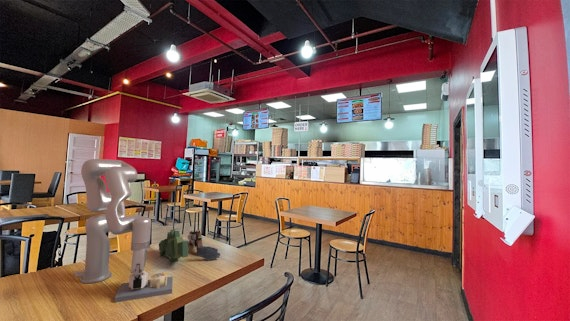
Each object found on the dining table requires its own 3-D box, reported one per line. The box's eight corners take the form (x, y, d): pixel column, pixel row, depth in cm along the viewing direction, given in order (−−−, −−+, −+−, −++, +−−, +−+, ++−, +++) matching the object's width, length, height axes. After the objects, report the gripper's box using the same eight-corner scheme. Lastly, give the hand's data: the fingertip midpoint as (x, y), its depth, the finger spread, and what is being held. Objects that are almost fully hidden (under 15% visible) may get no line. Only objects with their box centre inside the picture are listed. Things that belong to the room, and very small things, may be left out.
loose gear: (127, 290, 106) (128, 278, 107) (130, 283, 113) (131, 272, 113) (146, 287, 109) (147, 276, 110) (148, 280, 116) (149, 270, 116)
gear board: (114, 302, 102) (115, 284, 102) (120, 287, 114) (121, 271, 114) (172, 293, 111) (172, 276, 111) (172, 280, 123) (173, 265, 123)
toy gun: (194, 251, 179) (194, 230, 183) (204, 253, 157) (204, 230, 160) (187, 252, 177) (187, 231, 180) (197, 255, 154) (197, 230, 158)
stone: (217, 257, 156) (217, 241, 156) (221, 260, 151) (221, 244, 152) (195, 261, 147) (196, 245, 147) (198, 265, 143) (199, 248, 143)
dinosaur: (197, 257, 137) (194, 223, 142) (176, 262, 129) (174, 226, 134) (177, 260, 161) (175, 231, 166) (158, 264, 153) (157, 233, 158)
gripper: (134, 240, 118) (131, 276, 117) (127, 252, 102) (125, 295, 102) (151, 238, 121) (149, 274, 121) (148, 250, 105) (145, 291, 105)
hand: (138, 283), depth 111 cm, fingers closed on loose gear, 6 cm apart
